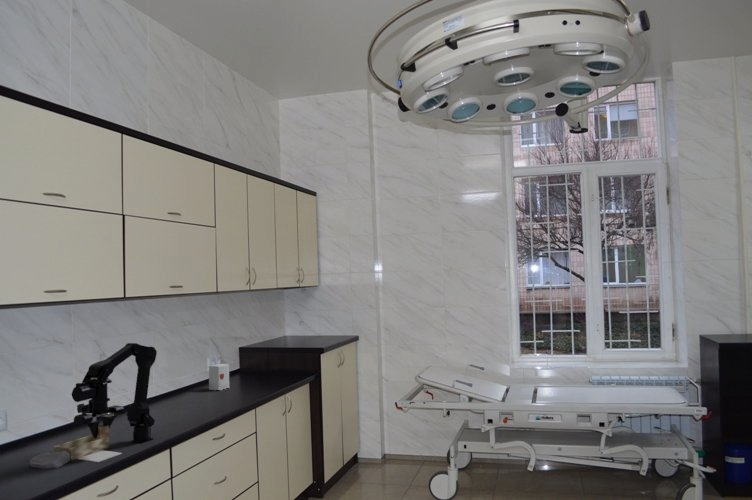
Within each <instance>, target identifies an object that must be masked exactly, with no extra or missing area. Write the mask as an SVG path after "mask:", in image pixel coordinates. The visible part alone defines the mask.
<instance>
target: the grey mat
mask: <svg viewBox="0 0 752 500" xmlns="http://www.w3.org/2000/svg"><path fill="white" fill-rule="evenodd" d="M122 454H123V452H117V451H109V450H102V451H99V452H96V453H93V454H90V455H87V456H84V457H81V458H78V459H77V460H79V461H80V460H81V461H85V462H94V463H99V462H103V461H106V460H108V459H111V458H114V457H117V456H119V455H122Z"/></svg>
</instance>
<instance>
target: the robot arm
mask: <svg viewBox="0 0 752 500" xmlns="http://www.w3.org/2000/svg"><path fill="white" fill-rule="evenodd" d="M131 356H134V358H135V359H134V361H135V364H136V366H137V376H136V380H135V381H136V382H135V390H134V400H133V402H132V404H131V405H128V407H127V413H126V417H127V421H128V422H129V426H130V428H131V427H133V432H132V437H133V438H132V440H131V442H132V443H141V444H143V443H146V442H148V441H151V440H154V439H155V438H154V437H152V429H151V428H152V426H154V425H155V423H156V420H155V419H154V418H153V417H152V416H151V415H150V407H149V404H148V402H147V400H148V393H149V392H148V391H149V382H150V374H151V368H152V367H153V365H154V363H156V362H155V361H156V359H157V350H156V348H155V347H154V346H147V345H141V344H139V343H136V342H128V343H126V344H125V346H122V347H121V348H120V349H119V350H118V351H116V352H114V353H113V354H111V355H109V357H107V358H105V359H103V360H100V361H96V362H95V363H92V364H90V366H88V370H87V371H86V373H85V375H84V378H83V379H82V381H81V382H77V383H75V387H73V388H72V392H71V398H72V399H73V401H74V402H75V403H79V402H82V401H83V402H84V401H87V400H88V403H87V404H85V403H83V402H82V403H80V404H77V406H76V408H77V409H76V411H77V413H78V414H77V415H76V414H75V416H74V418H73V424H77V425H78V424H79V425H86V426H87V427H88V428H89V430H90V433H91V432H92V435H93V437H94V438H95V439H96V438H97V434H98V426H99V425H100V421H99V420H98V419H97V418H101V420H102V425H105V426H109V429H110V428H111V426H112V424H113V422H114V420H115V419H116V418H117V416H118V415H122V414H124V413H125V408H124V407H123V405H115V404H114V405H112V406H108V405H109V404H108V403H109V402H110V401H111V398H109V396H108V384H111V383H112V382H113V381H112V380H111V379H109V377H110V375H112V373H114V370H115V368H116V367H118V366H119V365H120V364H121V363H123V362H124V361H126V360H127V359H129V358H130V357H131ZM115 414H117V415H115Z"/></svg>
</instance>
